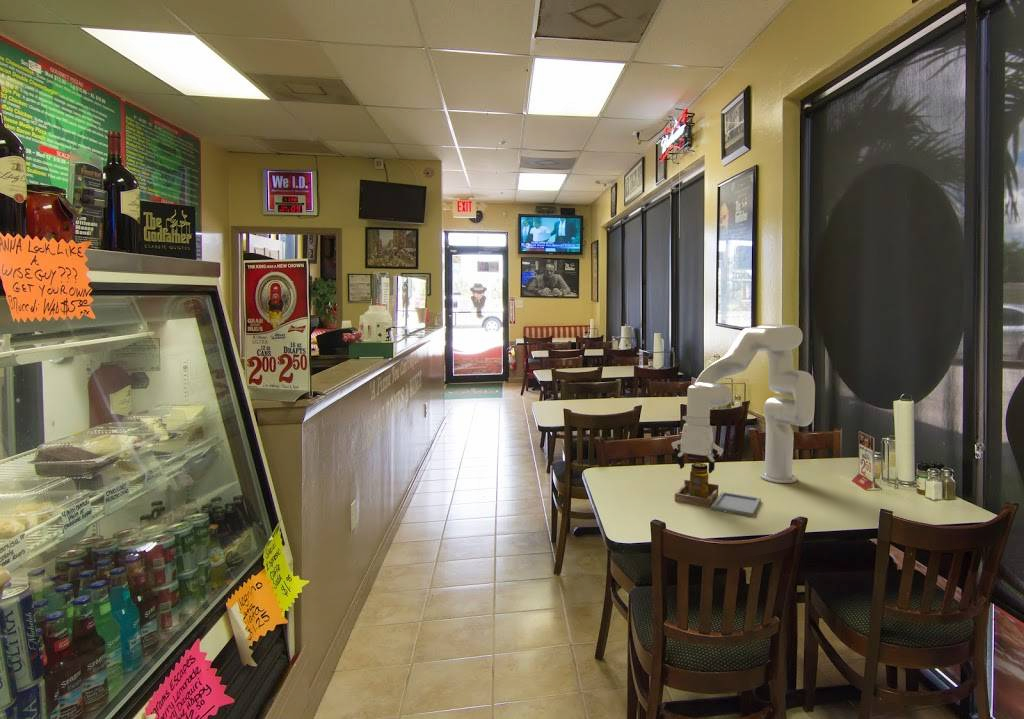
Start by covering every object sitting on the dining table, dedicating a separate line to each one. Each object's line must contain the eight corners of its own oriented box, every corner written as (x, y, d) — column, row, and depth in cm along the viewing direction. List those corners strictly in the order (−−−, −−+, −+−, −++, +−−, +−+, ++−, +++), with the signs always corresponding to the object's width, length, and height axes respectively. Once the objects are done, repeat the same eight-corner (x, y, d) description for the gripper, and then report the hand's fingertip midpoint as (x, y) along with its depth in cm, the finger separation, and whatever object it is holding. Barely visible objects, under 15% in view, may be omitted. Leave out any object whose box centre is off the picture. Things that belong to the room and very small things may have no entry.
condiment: (713, 499, 189) (714, 465, 188) (697, 504, 184) (698, 469, 183) (695, 493, 195) (696, 460, 194) (680, 498, 190) (680, 464, 189)
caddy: (684, 490, 198) (685, 479, 197) (718, 495, 192) (718, 484, 191) (674, 500, 187) (674, 489, 187) (709, 507, 181) (709, 495, 181)
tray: (722, 494, 192) (722, 491, 192) (760, 501, 186) (760, 498, 186) (711, 509, 179) (711, 505, 179) (752, 516, 172) (752, 513, 172)
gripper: (669, 420, 188) (667, 468, 190) (721, 425, 179) (719, 476, 180) (675, 416, 195) (674, 463, 196) (726, 422, 185) (724, 471, 187)
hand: (696, 469), depth 188 cm, fingers open, 9 cm apart
